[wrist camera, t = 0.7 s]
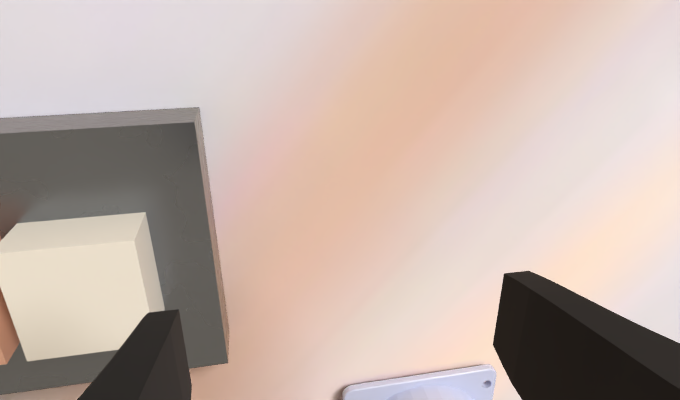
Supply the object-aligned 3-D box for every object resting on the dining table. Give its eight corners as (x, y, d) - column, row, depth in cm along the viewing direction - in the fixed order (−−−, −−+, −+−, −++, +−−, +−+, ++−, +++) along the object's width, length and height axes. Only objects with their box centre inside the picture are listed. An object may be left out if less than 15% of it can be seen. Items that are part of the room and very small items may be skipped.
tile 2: (164, 308, 18) (156, 344, 16) (48, 322, 18) (27, 361, 16) (145, 212, 17) (134, 240, 15) (16, 223, 16) (-12, 254, 14)
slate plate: (229, 331, 22) (228, 363, 20) (-76, 370, 20) (-108, 409, 18) (199, 107, 17) (194, 121, 16) (-191, 128, 15) (-248, 148, 14)
